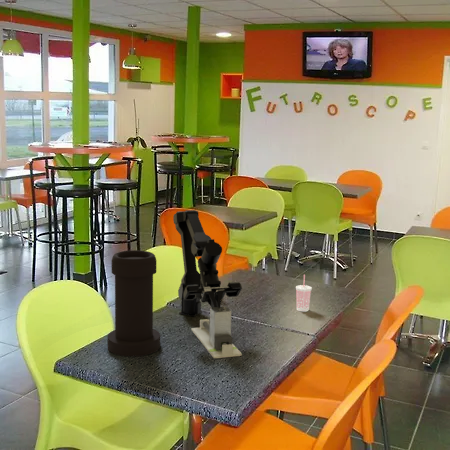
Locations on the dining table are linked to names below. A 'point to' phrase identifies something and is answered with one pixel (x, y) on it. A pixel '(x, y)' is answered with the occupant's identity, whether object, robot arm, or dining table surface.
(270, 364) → the dining table surface
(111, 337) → the pipe
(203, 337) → the base board
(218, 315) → the beige tall block
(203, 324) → the steel pipe
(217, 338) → the dark grey notched block
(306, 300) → the beverage cup
